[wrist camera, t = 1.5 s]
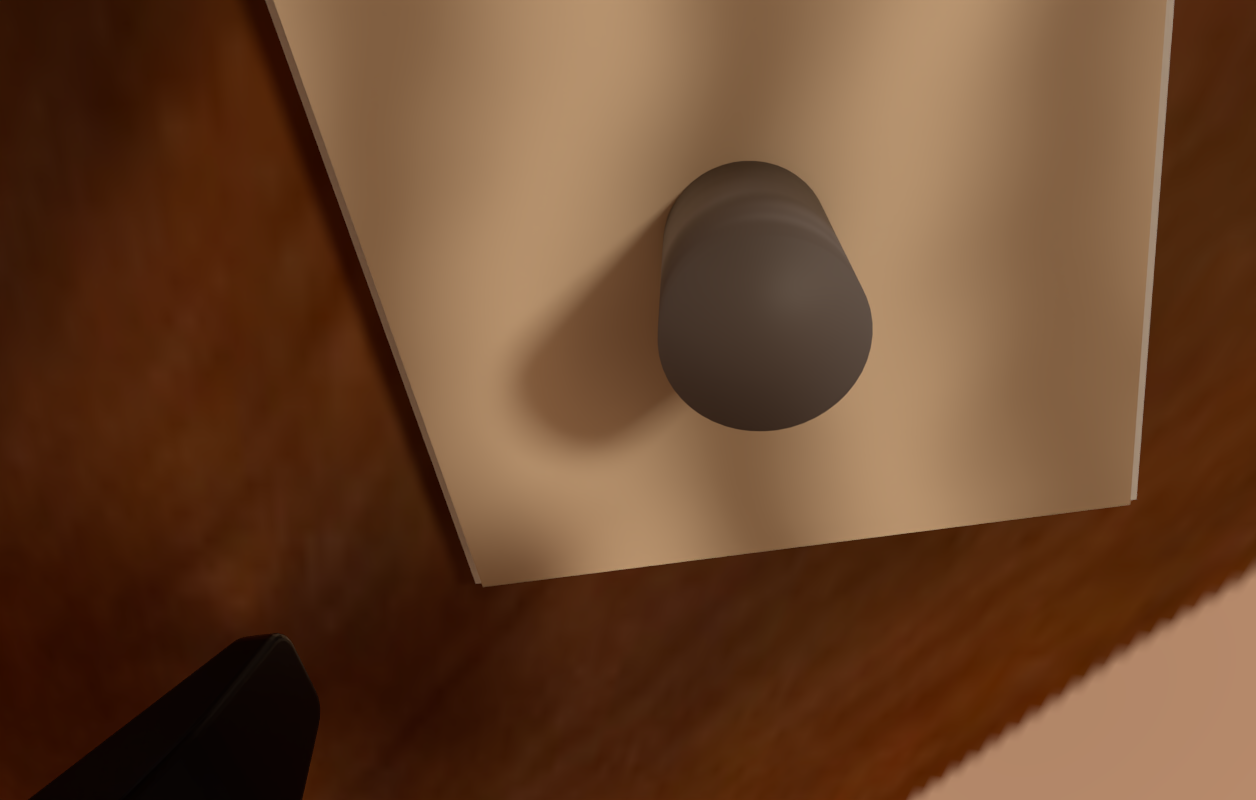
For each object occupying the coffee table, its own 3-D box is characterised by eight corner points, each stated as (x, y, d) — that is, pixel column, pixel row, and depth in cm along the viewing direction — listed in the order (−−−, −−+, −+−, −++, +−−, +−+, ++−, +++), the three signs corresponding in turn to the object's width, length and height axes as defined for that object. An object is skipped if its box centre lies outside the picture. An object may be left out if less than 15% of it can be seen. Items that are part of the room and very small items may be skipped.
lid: (1165, -328, 13) (1419, -459, 9) (1114, 484, 20) (1243, 652, 16) (257, -100, 16) (77, -109, 11) (489, 566, 22) (439, 735, 18)
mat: (1183, -368, 14) (1203, -380, 13) (1125, 484, 21) (1136, 499, 20) (235, -125, 16) (219, -126, 15) (480, 568, 23) (475, 583, 23)
